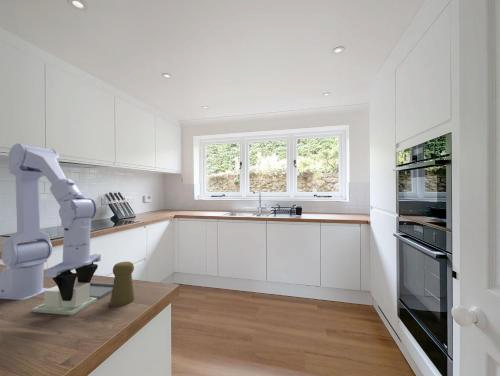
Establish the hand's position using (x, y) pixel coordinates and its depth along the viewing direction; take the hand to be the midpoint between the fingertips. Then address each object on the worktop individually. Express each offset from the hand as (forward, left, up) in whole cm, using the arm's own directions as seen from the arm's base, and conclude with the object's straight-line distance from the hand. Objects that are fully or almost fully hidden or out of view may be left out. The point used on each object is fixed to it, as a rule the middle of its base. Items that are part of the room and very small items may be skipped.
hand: (75, 296), depth 61 cm
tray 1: (-2, 0, -3) cm, 4 cm away
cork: (+10, +5, -3) cm, 12 cm away
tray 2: (-2, +9, -3) cm, 10 cm away
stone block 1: (-5, 0, -3) cm, 5 cm away
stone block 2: (0, 0, -2) cm, 2 cm away
